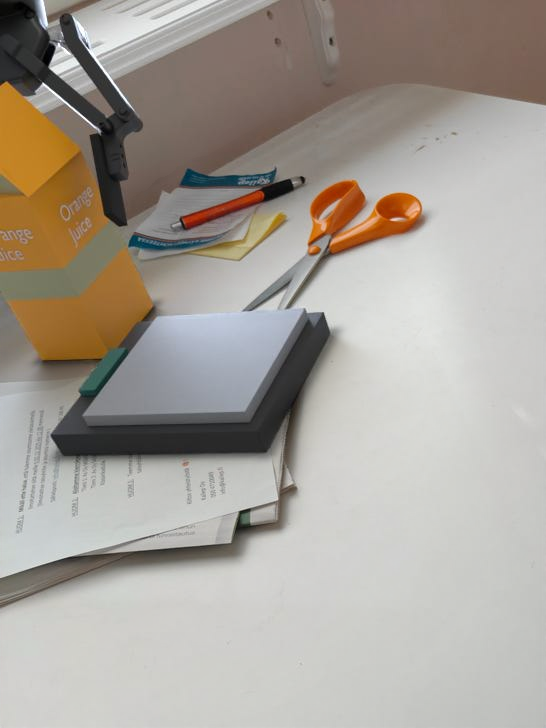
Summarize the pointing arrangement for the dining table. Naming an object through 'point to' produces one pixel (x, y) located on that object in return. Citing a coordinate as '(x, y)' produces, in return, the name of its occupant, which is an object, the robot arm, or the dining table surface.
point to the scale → (195, 384)
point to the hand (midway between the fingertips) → (39, 237)
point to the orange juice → (60, 242)
